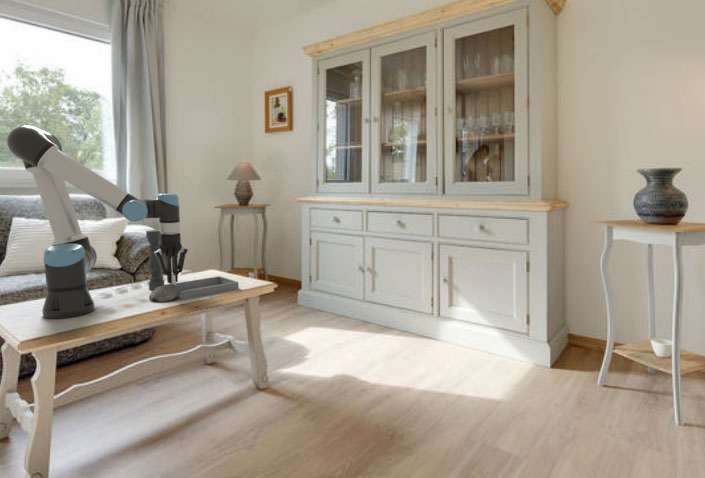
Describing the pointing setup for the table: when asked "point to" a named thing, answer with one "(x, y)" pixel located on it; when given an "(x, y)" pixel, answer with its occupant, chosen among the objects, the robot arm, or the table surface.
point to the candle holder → (154, 259)
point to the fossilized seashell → (165, 293)
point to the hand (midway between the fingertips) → (173, 290)
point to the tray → (225, 286)
